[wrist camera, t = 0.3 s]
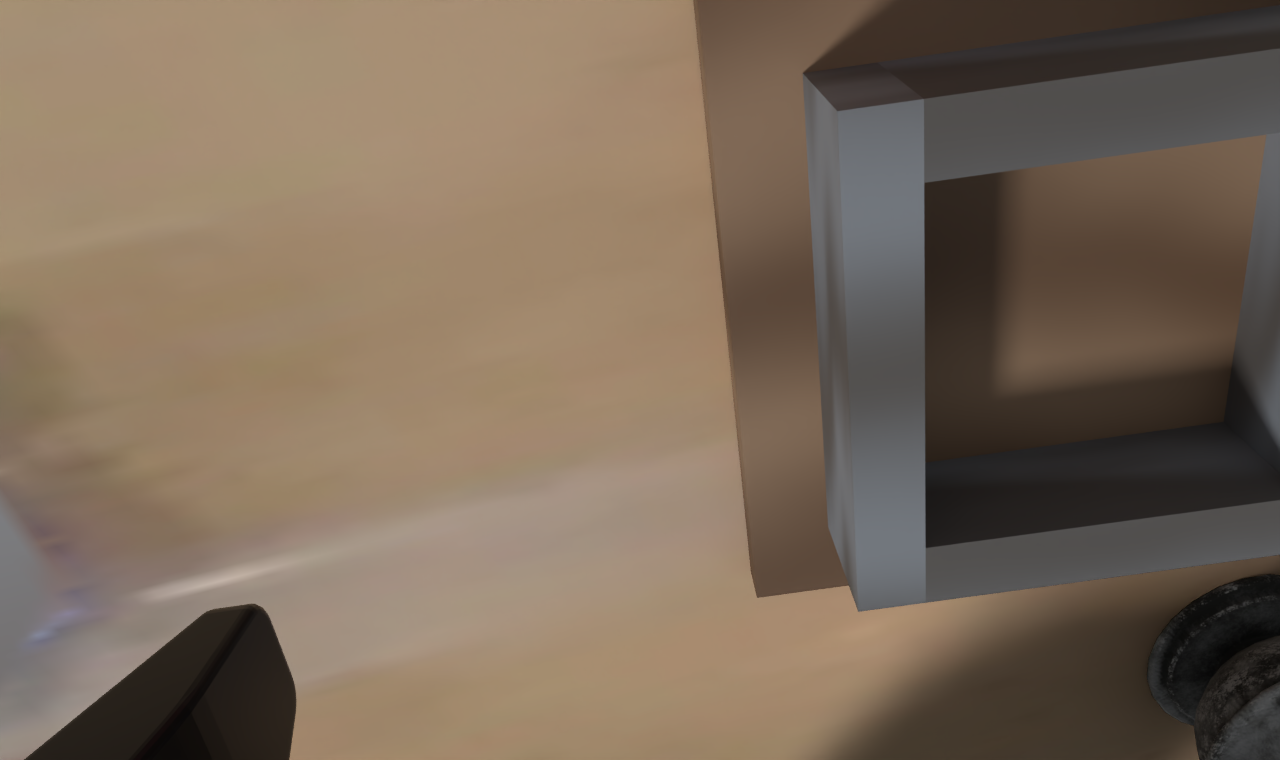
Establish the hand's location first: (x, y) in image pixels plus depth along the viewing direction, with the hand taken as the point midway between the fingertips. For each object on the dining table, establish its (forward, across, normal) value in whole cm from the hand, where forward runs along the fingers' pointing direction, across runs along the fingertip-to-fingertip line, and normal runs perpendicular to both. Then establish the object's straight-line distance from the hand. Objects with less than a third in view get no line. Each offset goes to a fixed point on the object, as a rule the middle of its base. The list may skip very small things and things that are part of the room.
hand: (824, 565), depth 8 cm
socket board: (+14, -8, +4) cm, 17 cm away
